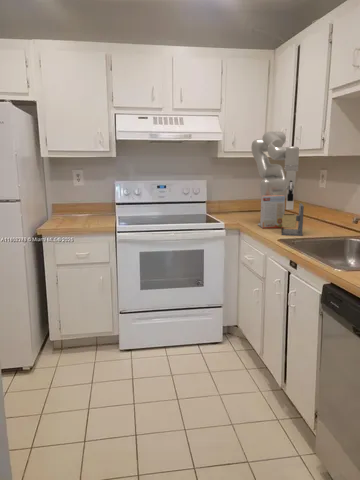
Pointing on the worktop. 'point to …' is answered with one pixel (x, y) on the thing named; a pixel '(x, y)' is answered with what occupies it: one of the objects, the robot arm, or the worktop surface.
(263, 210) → the cracker box
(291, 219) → the cup bracket
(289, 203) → the rail post
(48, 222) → the worktop surface
